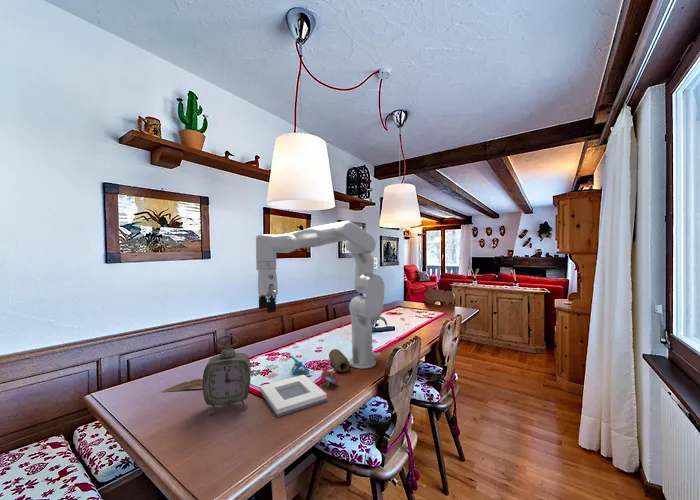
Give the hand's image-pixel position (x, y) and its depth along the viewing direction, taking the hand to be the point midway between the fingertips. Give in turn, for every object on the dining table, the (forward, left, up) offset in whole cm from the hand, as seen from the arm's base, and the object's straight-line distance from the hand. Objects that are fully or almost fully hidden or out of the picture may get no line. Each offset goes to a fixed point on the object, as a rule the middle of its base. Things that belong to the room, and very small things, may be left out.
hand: (267, 310), depth 114 cm
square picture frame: (-6, +11, -31) cm, 33 cm away
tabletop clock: (+15, +6, -31) cm, 35 cm away
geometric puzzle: (-22, +11, -31) cm, 39 cm away
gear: (-17, -8, -31) cm, 36 cm away
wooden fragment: (+22, -20, -31) cm, 43 cm away
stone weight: (-34, -3, -31) cm, 46 cm away
